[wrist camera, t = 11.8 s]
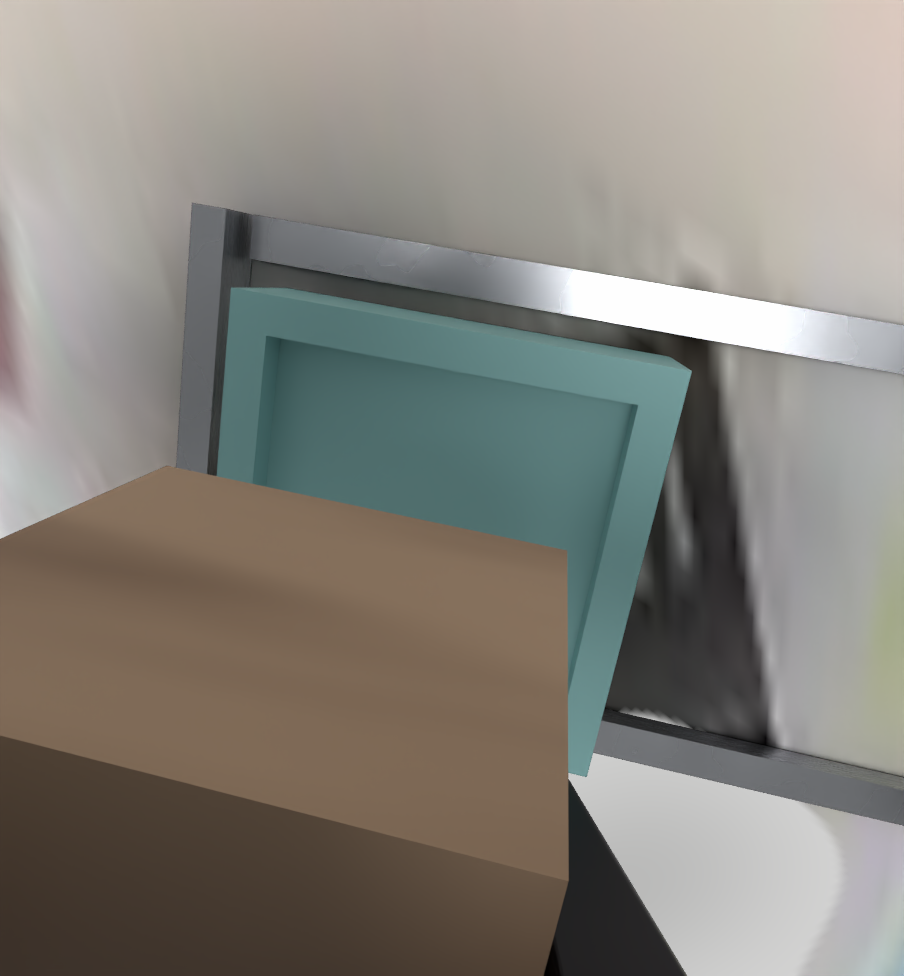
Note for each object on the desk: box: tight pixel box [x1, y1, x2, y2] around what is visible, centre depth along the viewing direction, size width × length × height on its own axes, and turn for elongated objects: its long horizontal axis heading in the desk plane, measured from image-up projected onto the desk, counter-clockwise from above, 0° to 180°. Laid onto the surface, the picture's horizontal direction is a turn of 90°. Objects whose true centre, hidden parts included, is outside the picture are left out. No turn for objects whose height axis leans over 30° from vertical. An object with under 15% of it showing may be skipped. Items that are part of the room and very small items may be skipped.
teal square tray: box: [217, 288, 692, 777], centre depth 17 cm, size 9×9×4 cm
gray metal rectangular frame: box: [176, 203, 904, 826], centre depth 18 cm, size 12×22×2 cm, turn 81°
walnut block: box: [0, 466, 569, 976], centre depth 7 cm, size 5×5×5 cm
